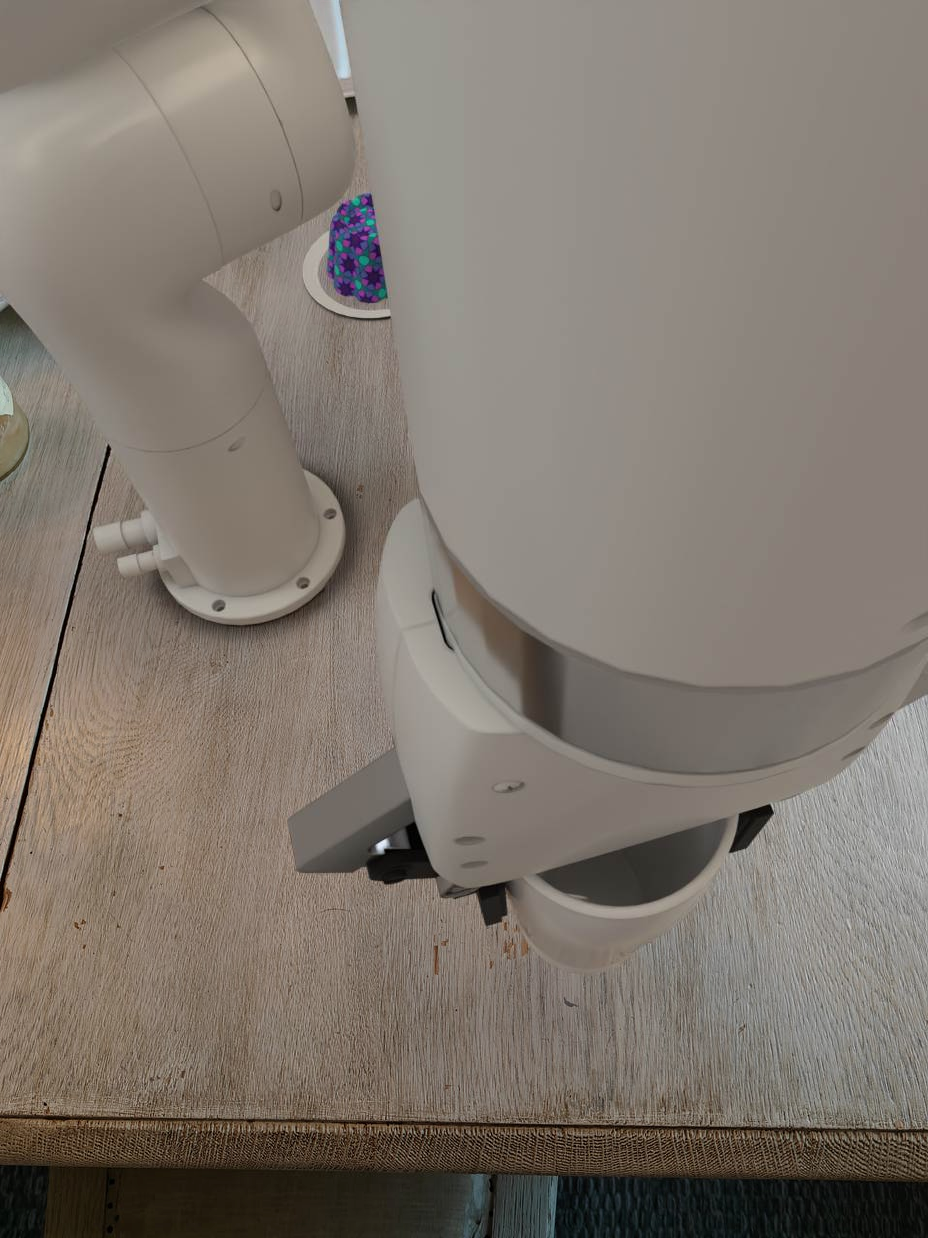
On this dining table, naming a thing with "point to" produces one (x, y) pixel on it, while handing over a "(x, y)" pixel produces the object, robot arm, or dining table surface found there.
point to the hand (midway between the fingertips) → (599, 838)
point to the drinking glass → (618, 897)
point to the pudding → (349, 259)
